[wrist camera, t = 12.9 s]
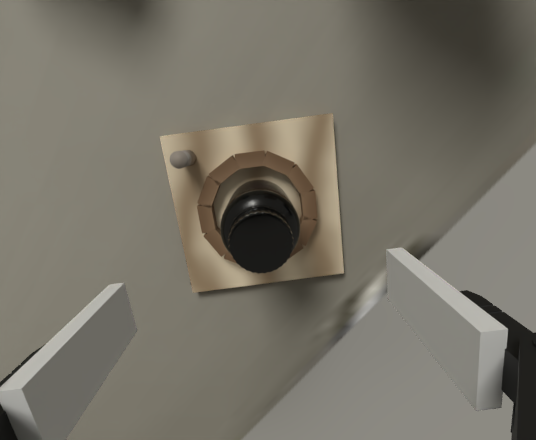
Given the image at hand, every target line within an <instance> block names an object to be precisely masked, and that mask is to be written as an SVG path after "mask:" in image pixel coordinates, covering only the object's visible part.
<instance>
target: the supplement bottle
mask: <svg viewBox="0 0 536 440" xmlns="http://www.w3.org/2000/svg"><path fill="white" fill-rule="evenodd" d="M220 233H221V239H222V242H223V244H224V246H225V248H226V250H227V251H228V252H229V254H230V255H231V256H232V257H233V259H234V260H235V261H236V263H237V264H238V265H240V266H241V268H245V270H247V271H251V272H252V273H255V272H256V273H258V274H259V273H267V272H272V271H273V270H277V269H278V268H279V267H282V265H283V264H284V263H286V262H287V259H288V258H289V257H290V254H291V253H292V251H293V250H294V249H295V247H296V245H297V243H298V240H299V236H300V221H299V217H298V214H297V212H296V210H295V208H294V206H293V205H292V203H291V201H290V200H289V198H288V196H287V195H286V193H285V192H284V191H283V190H282V189H281V188H280V187H279V186H278V185H276V184H275V183H273V182H270V181H267V180H252V181H249V182H246V183H244V184H243V185H241V186H240V187H238V188H237V189H236V191H235V192H234V193H233V195H232V196H231V198H230V200H229V202H228V204H227V206H226V208H225V210H224V213H223V215H222V219H221V224H220Z"/></svg>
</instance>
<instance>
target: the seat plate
mask: <svg viewBox="0 0 536 440" xmlns="http://www.w3.org/2000/svg"><path fill="white" fill-rule="evenodd" d="M160 140H161V145H162V150H163V154H164V159H165V164H166V168H167V173H168V178H169V182H170V187H171V192H172V196H173V201H174V206H175V211H176V215H177V220H178V225H179V229H180V234H181V239H182V243H183V248H184V253H185V257H186V262H187V267H188V272H189V276H190V281H191V286H192V290H193V293H195V292H203V291H210V290H218V289H226V288H234V287H241V286H249V285H257V284H264V283H272V282H280V281H288V280H295V279H303V278H311V277H318V276H326V275H334V274H342V273H344V267H343V253H342V238H341V224H340V210H339V196H338V181H337V167H336V153H335V139H334V124H333V113H331V114H323V115H316V116H308V117H301V118H293V119H286V120H278V121H271V122H263V123H256V124H249V125H241V126H234V127H226V128H219V129H211V130H204V131H196V132H189V133H181V134H174V135H167V136H160ZM252 180H267V181H270V182H273V183H275V184H276V185H278V186H279V187H280V188H281V189H282V190H283V191H284V192H285V193H286V195H287V196H288V198H289V200H290V201H291V203H292V205H293V206H294V208H295V210H296V212H297V214H298V217H299V221H300V236H299V240H298V243H297V245H296V247H295V249H294V250H293V251H292V253H291V254H290V257H289V258H288V259H287V262H286V263H284V264H283V265H282V267H279V268H278V269H277V270H273V271H272V272H267V273H259V274H258V273H256V272H255V273H252V272H251V271H247V270H245V268H241V266H240V265H238V264H237V263H236V261H235V260H234V259H233V257H232V256H231V255H230V254H229V252H228V251H227V250H226V248H225V246H224V244H223V242H222V239H221V233H220V224H221V219H222V215H223V213H224V210H225V208H226V206H227V204H228V202H229V200H230V198H231V196H232V195H233V193H234V192H235V191H236V189H237V188H238V187H240V186H241V185H243V184H244V183H246V182H249V181H252Z"/></svg>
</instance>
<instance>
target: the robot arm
mask: <svg viewBox="0 0 536 440" xmlns="http://www.w3.org/2000/svg"><path fill="white" fill-rule="evenodd" d="M386 258H387V292H388V300H389V302H390V303H391V304H392V305H393V307H394V308H395V309H396V310H397V312H398V313H399V314H400V315H401V317H402V318H403V319H404V320H405V322H406V323H407V324H408V326H409V327H410V328H411V329H412V331H413V332H414V333H415V334H416V336H417V337H418V338H419V339H420V341H421V342H422V343H423V345H424V346H425V347H426V348H427V350H428V351H429V352H430V353H431V355H432V356H433V357H434V358H435V360H436V361H437V362H438V364H439V365H440V366H441V367H442V369H443V370H444V371H445V372H446V374H447V375H448V376H449V377H450V379H451V380H452V381H453V382H454V384H455V385H456V386H457V387H458V389H459V390H460V391H461V393H463V395H464V396H465V398H466V399H467V400H468V401H469V403H470V404H471V405H472V406H473V408H474V409H475V410H476V411H479V410H487V409H496V408H501V405H502V394H503V392H504V393H505V394H506V395H507V396H508V397H509V398H510V399H511V400H512V401H513V402H514V406H513V415H512V426H511V432H512V440H536V333H532V332H531V331H530V330H528V329H527V328H525V327H524V326H523V325H521V324H520V323H518V322H517V321H516V320H514V319H513V318H511V317H510V316H509V315H507V314H506V313H504V312H502V310H500V309H499V308H497V307H496V306H493V304H492V303H490V302H489V301H488V300H486V299H485V298H483V297H482V296H480V295H477V294H475V293H472V292H469V291H467V290H466V291H458V290H456V289H455V288H454V287H453V286H451V285H450V284H449V283H447V282H446V281H445V280H443V279H442V278H441V277H440V276H438V275H437V274H436V273H434V272H433V271H432V270H430V269H429V268H428V267H427V266H425V265H424V264H423V263H421V262H420V261H419V260H417V259H416V258H415V257H414V256H412V255H411V254H410V253H408V252H407V251H406V250H404V249H403V248H394V249H386ZM136 332H137V327H136V323H135V320H134V316H133V313H132V309H131V305H130V302H129V298H128V294H127V291H126V287H125V284H124V283H118V284H111V285H108V286H107V287H106V288H105V289H104V290H103V291H102V292H101V293H100V294H99V295H98V296H97V297H96V298H95V299H93V300H92V301H91V302H90V303H89V304H88V305H87V306H86V307H85V308H84V309H83V310H82V311H81V312H80V313H79V314H77V315H76V316H75V317H74V318H73V319H72V320H71V321H70V322H69V323H68V324H67V325H66V326H65V327H64V328H63V329H62V330H60V331H59V332H58V333H57V334H56V335H55V336H54V337H53V338H52V339H51V340H50V341H49V342H48V343H47V344H45V345H44V346H42V347H41V348H39V349H38V350H36V351H34V352H33V353H32V354H30V355H29V356H28V357H27V358H26V359H25V360H24V361H23V362H22V363H21V365H19V366H17V367H16V368H15V369H14V370H13V371H12V373H11V374H9V375H8V376H7V377H6V378H4V379H3V380H2V381H1V382H0V440H66V438H67V437H68V435H69V434H70V432H71V431H72V429H73V428H74V426H75V425H76V423H77V422H78V420H79V418H80V417H81V415H82V414H83V412H84V411H85V409H86V408H87V406H88V405H89V403H90V402H91V400H92V399H93V397H94V396H95V394H96V393H97V391H98V390H99V388H100V387H101V385H102V384H103V382H104V381H105V379H106V377H107V376H108V374H109V373H110V371H111V370H112V368H113V367H114V365H115V364H116V362H117V361H118V359H119V358H120V356H121V355H122V353H123V352H124V350H125V349H126V347H127V346H128V344H129V343H130V341H131V339H132V338H133V336H134V335H135V333H136Z"/></svg>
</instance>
